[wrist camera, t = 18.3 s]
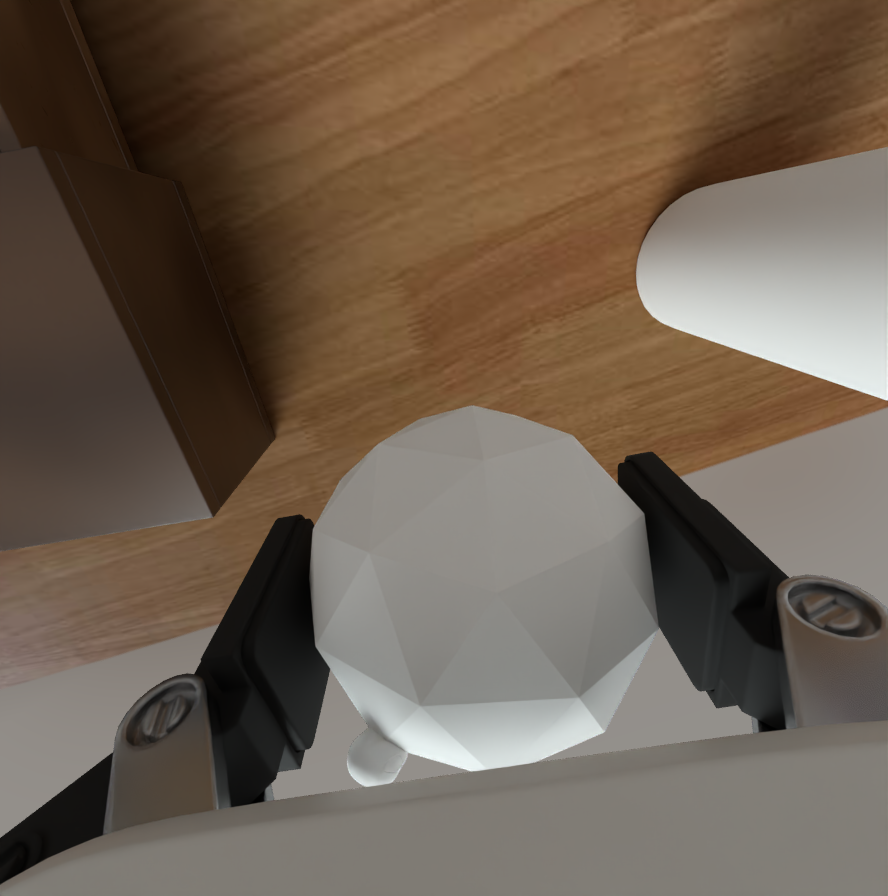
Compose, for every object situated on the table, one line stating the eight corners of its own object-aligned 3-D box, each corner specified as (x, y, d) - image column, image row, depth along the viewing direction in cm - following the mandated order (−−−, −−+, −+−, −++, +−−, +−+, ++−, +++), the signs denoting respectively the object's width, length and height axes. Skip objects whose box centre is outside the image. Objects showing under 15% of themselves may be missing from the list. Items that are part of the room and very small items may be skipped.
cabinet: (-54, 226, 24) (-329, 217, 15) (181, 181, 24) (35, 145, 15) (90, 469, 31) (-44, 558, 22) (275, 438, 30) (213, 517, 22)
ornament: (587, 575, 14) (481, 872, 9) (402, 454, 15) (218, 674, 10) (771, 469, 8) (732, 1076, 4) (458, 282, 9) (106, 598, 5)
